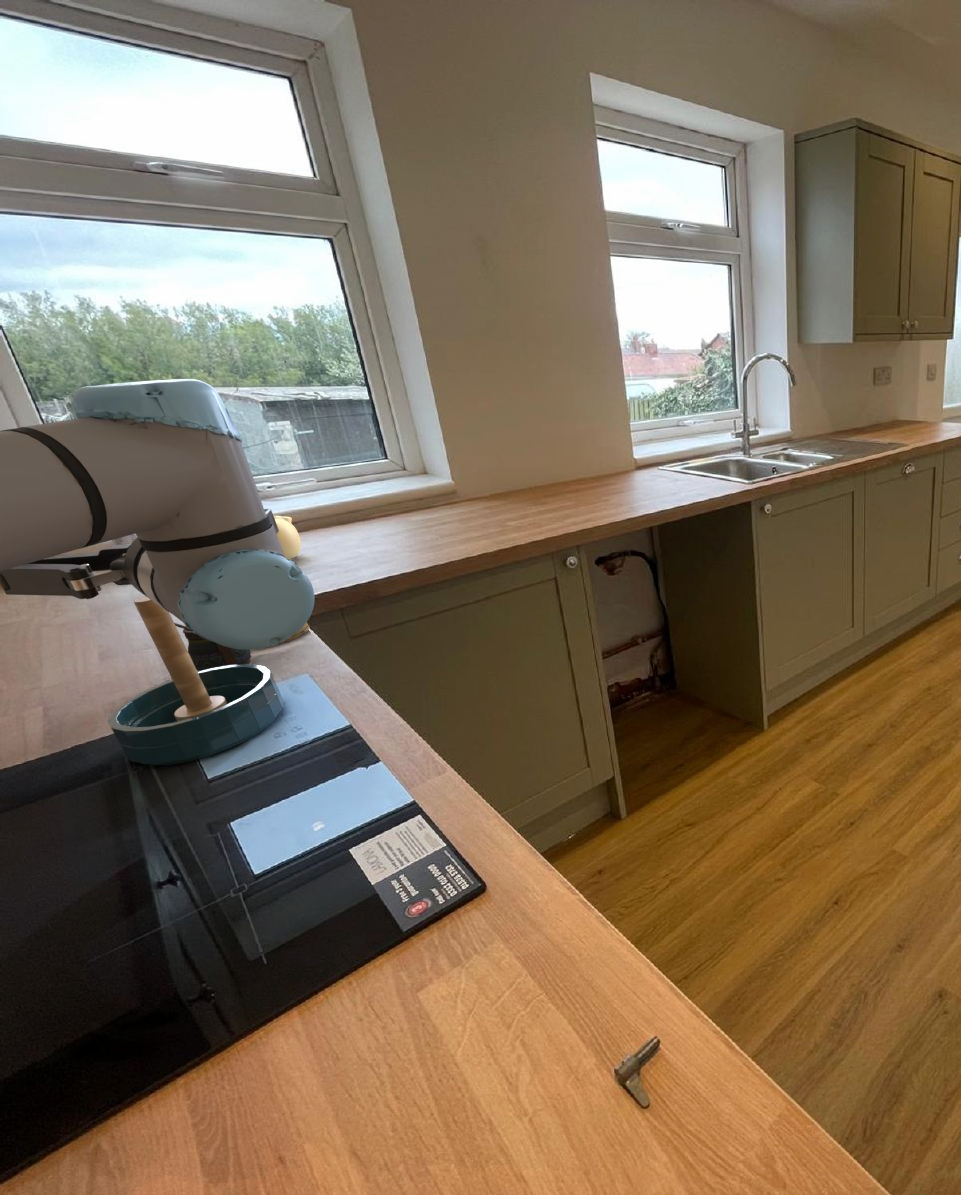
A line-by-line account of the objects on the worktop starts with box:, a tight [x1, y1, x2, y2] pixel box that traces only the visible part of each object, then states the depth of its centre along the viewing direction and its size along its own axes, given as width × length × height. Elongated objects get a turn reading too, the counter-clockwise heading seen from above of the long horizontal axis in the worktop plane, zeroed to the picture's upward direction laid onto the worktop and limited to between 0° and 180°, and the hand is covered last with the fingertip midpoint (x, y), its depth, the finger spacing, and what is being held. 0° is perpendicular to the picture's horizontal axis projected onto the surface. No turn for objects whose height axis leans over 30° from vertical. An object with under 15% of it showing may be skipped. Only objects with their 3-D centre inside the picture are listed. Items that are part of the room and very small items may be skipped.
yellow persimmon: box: [273, 515, 302, 561], centre depth 145 cm, size 11×12×11 cm
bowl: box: [107, 663, 284, 766], centre depth 82 cm, size 16×16×6 cm
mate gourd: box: [174, 622, 252, 672], centre depth 97 cm, size 7×8×10 cm
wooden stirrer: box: [133, 595, 227, 722], centre depth 80 cm, size 5×5×18 cm
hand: (132, 535), depth 67 cm, fingers open, 13 cm apart
